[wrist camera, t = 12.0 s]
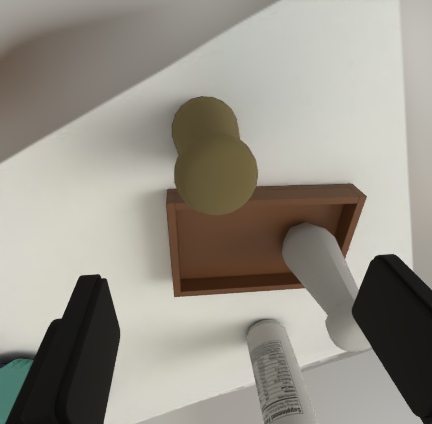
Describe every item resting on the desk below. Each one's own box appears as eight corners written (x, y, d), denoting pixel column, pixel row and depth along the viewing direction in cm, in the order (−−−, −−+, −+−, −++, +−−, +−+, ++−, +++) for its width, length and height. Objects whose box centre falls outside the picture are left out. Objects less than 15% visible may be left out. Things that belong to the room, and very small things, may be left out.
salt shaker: (289, 263, 34) (341, 371, 23) (267, 234, 31) (314, 341, 20) (333, 239, 33) (409, 341, 22) (314, 206, 30) (391, 305, 19)
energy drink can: (255, 346, 44) (284, 470, 32) (238, 327, 41) (263, 456, 29) (290, 331, 43) (335, 454, 30) (275, 311, 40) (318, 438, 27)
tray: (352, 183, 30) (367, 196, 28) (325, 270, 37) (335, 286, 34) (167, 189, 28) (165, 203, 26) (174, 279, 35) (174, 297, 32)
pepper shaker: (247, 147, 26) (282, 208, 17) (189, 172, 27) (193, 243, 18) (223, 83, 23) (251, 116, 14) (158, 114, 24) (145, 164, 15)
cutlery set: (36, 428, 51) (30, 443, 49) (-151, 351, 35) (-171, 369, 33) (127, 392, 47) (125, 407, 46) (-36, 289, 32) (-50, 306, 30)
